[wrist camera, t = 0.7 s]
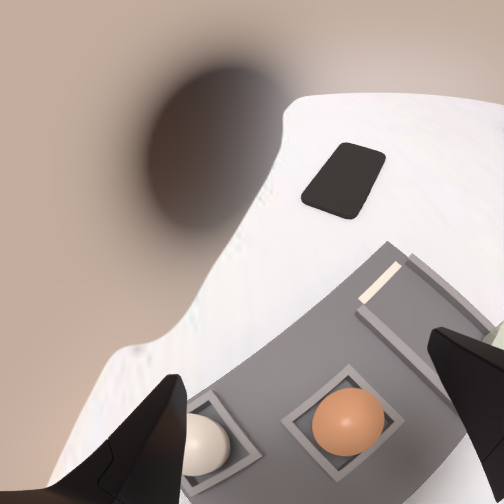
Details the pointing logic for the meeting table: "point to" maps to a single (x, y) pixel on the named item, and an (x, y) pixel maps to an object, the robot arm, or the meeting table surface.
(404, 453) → the control board
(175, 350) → the meeting table surface
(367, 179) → the phone
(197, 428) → the offwhite button
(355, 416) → the terracotta button
